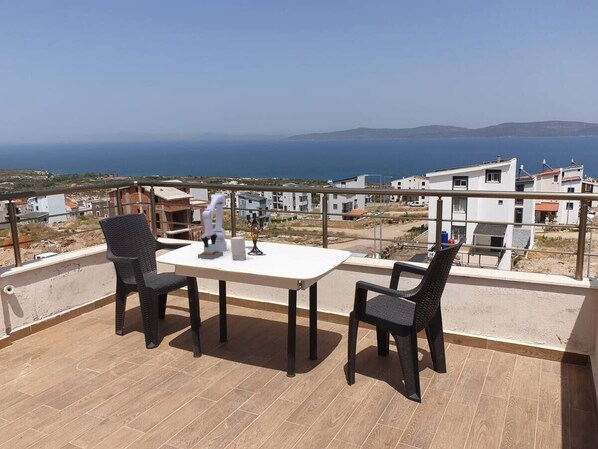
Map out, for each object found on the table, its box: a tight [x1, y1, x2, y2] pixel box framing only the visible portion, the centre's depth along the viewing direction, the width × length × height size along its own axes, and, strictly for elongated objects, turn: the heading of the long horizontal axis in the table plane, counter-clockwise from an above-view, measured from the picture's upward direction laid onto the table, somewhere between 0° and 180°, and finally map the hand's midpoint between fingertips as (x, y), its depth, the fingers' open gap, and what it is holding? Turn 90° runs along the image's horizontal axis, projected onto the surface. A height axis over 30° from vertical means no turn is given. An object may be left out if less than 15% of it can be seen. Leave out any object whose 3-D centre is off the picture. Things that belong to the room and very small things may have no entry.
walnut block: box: [201, 251, 218, 256], centre depth 312 cm, size 8×8×4 cm
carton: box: [203, 243, 216, 253], centre depth 312 cm, size 5×7×5 cm
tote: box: [197, 251, 224, 261], centre depth 313 cm, size 13×13×4 cm
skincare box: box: [230, 236, 247, 261], centre depth 305 cm, size 8×7×16 cm
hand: (209, 246), depth 311 cm, fingers open, 7 cm apart
